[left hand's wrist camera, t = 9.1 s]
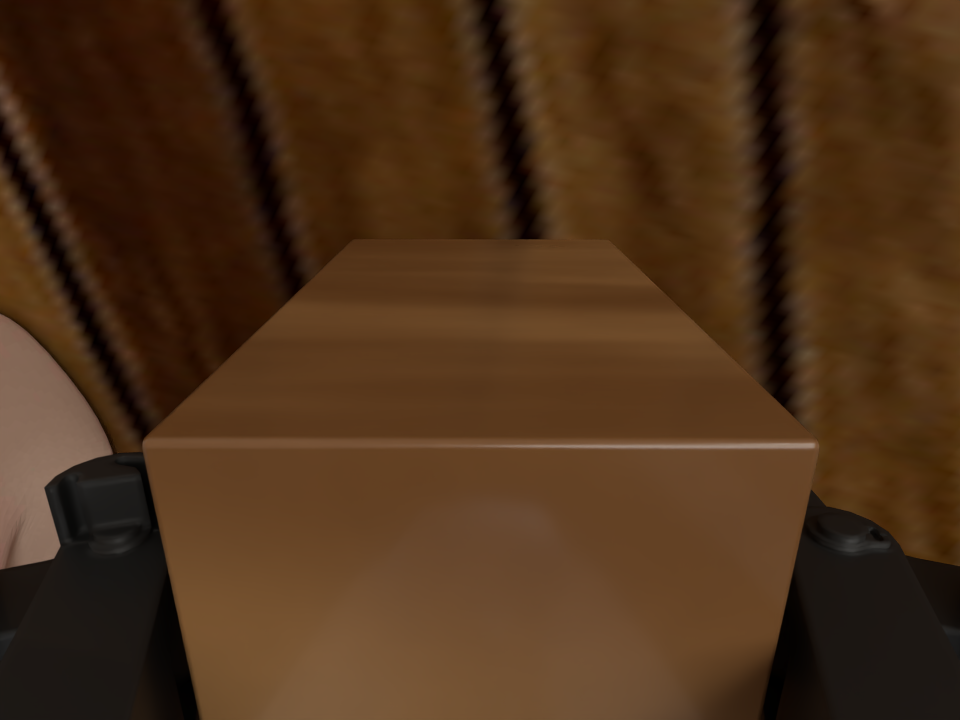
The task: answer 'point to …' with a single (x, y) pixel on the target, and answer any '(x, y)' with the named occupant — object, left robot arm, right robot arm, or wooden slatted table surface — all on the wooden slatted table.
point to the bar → (480, 498)
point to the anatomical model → (37, 443)
